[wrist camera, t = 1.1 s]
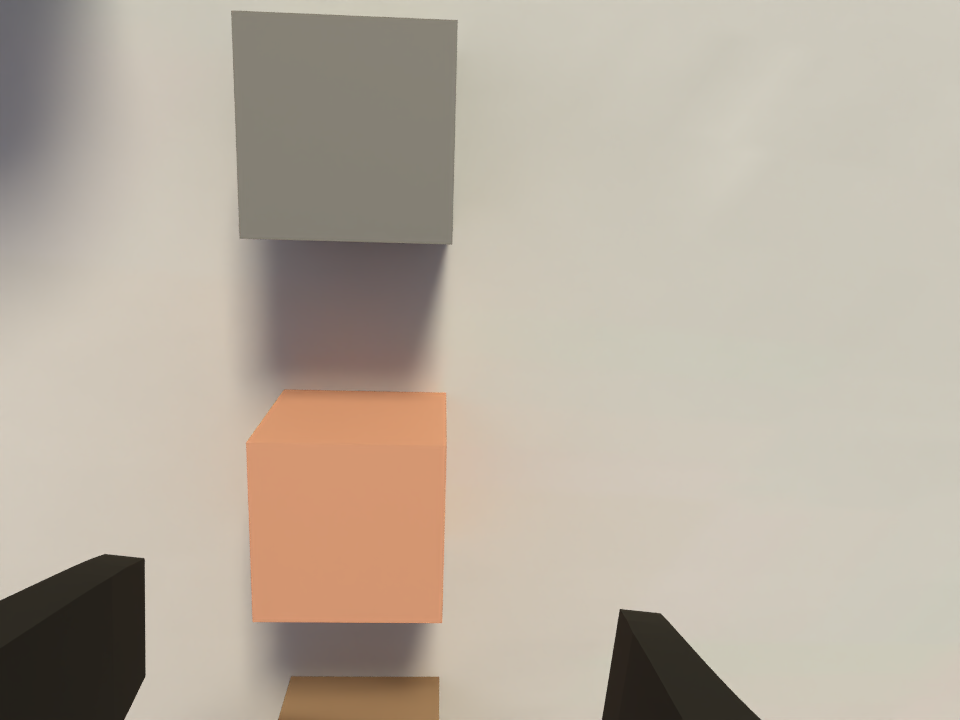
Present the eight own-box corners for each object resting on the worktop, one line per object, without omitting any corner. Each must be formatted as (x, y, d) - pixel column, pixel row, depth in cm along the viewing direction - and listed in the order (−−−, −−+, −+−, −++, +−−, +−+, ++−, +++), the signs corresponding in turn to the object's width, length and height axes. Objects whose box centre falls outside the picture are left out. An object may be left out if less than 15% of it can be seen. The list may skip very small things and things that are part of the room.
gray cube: (450, 228, 22) (452, 244, 17) (280, 224, 21) (239, 238, 17) (454, 51, 21) (457, 20, 16) (276, 44, 20) (231, 10, 16)
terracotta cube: (442, 538, 24) (442, 623, 19) (287, 537, 24) (252, 621, 19) (446, 391, 23) (446, 446, 18) (284, 388, 22) (246, 442, 18)
